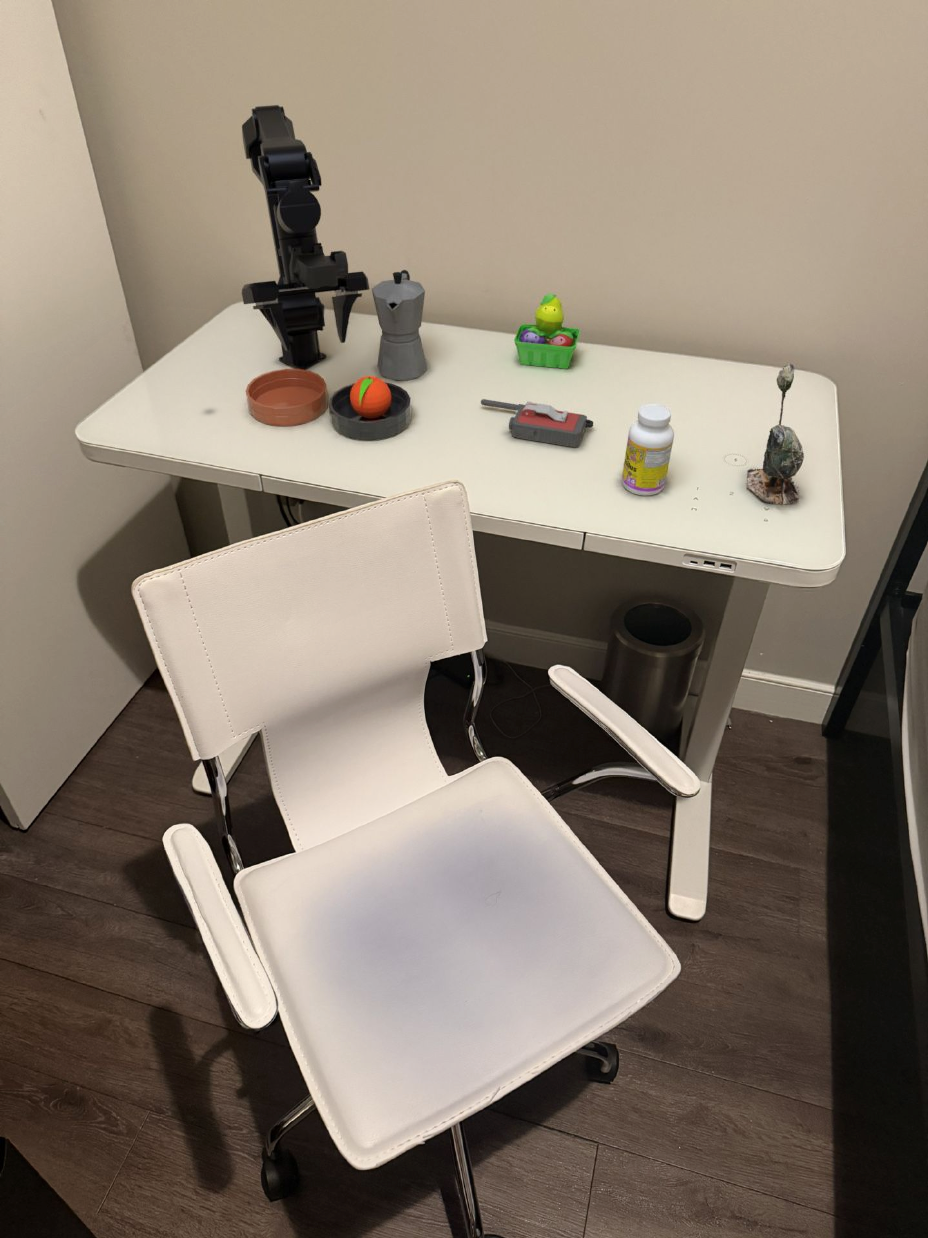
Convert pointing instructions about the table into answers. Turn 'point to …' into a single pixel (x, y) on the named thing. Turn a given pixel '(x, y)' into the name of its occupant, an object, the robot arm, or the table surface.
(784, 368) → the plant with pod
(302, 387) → the terracotta bowl
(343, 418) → the charcoal bowl
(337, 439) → the table surface
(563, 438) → the walkie-talkie
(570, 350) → the fruit basket
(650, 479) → the supplement bottle
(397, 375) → the coffeepot
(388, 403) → the clementine
